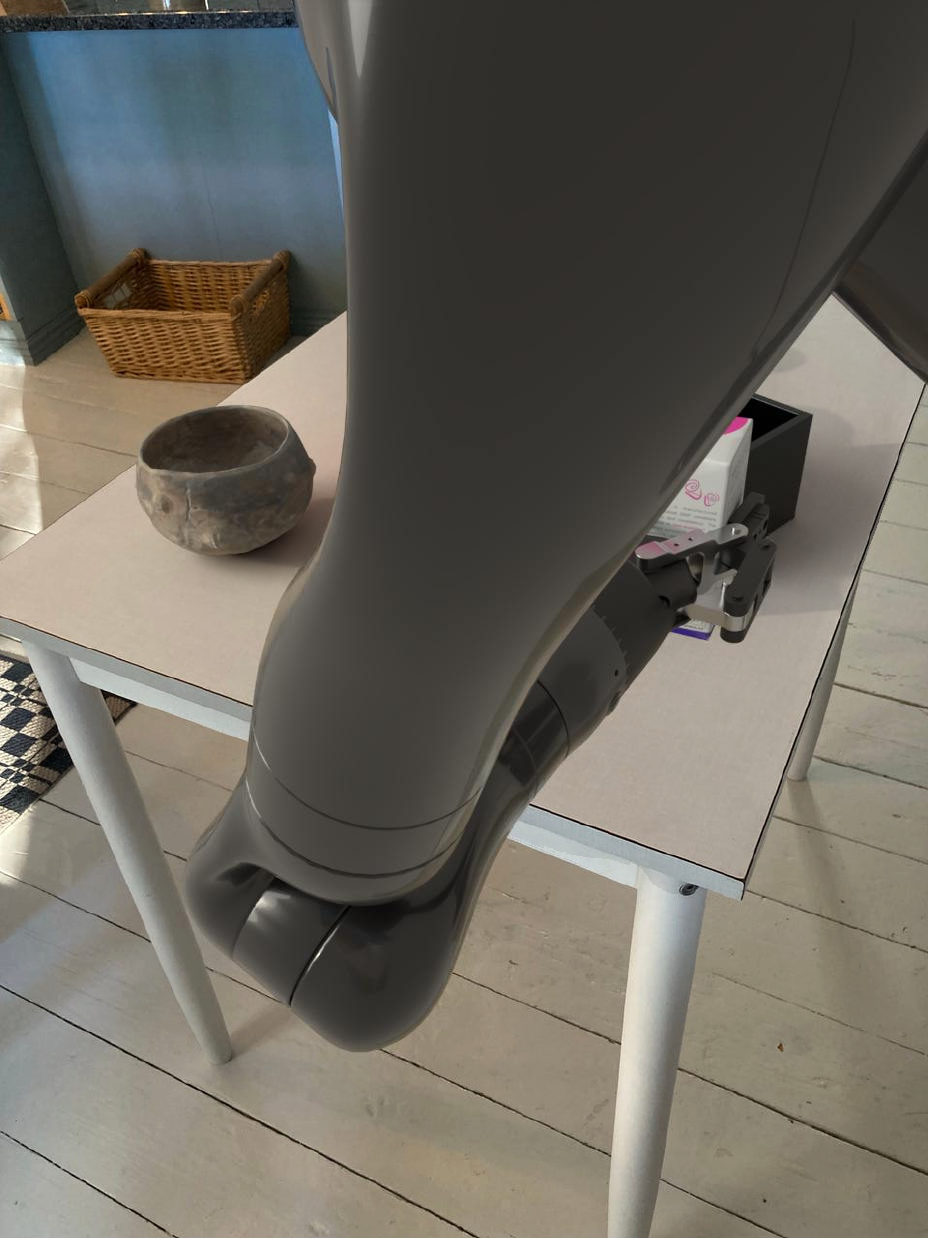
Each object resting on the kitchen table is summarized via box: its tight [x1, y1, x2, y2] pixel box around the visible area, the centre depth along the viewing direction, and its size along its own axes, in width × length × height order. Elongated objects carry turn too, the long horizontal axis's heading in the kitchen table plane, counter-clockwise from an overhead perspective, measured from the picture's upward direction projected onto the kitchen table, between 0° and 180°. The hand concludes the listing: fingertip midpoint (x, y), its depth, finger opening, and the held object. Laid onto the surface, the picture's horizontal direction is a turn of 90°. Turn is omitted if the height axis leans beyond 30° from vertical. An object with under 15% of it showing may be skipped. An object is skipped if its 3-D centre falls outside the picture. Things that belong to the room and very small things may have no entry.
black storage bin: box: [737, 392, 814, 539], centre depth 85 cm, size 15×15×10 cm
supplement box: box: [647, 417, 753, 642], centre depth 56 cm, size 6×6×12 cm
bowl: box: [134, 404, 317, 556], centre depth 87 cm, size 14×15×10 cm
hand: (698, 491), depth 57 cm, fingers closed on supplement box, 6 cm apart
